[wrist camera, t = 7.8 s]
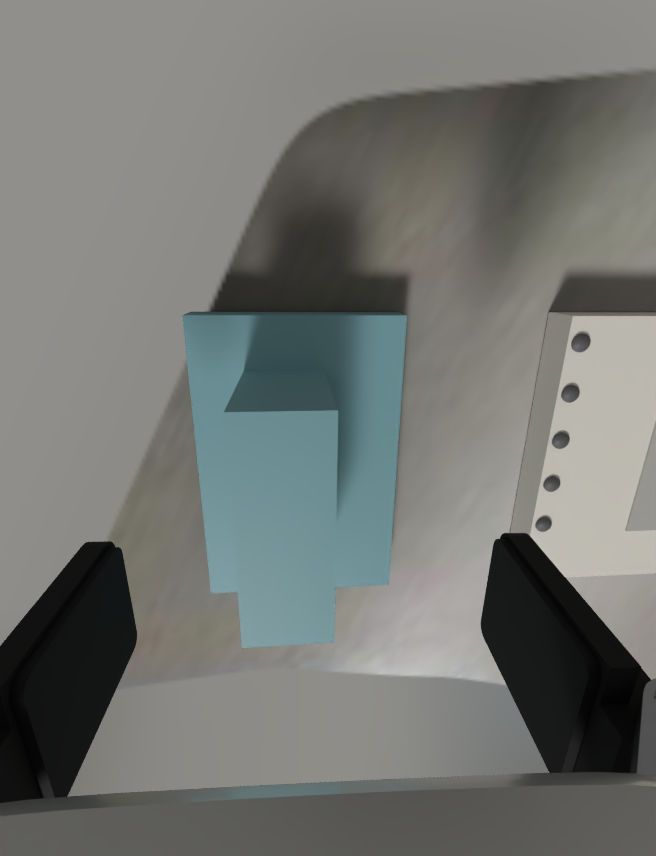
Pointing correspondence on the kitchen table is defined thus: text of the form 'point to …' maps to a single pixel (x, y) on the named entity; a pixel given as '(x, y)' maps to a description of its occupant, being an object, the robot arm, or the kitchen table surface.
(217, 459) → the stub
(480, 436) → the kitchen table surface
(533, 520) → the white notebook
